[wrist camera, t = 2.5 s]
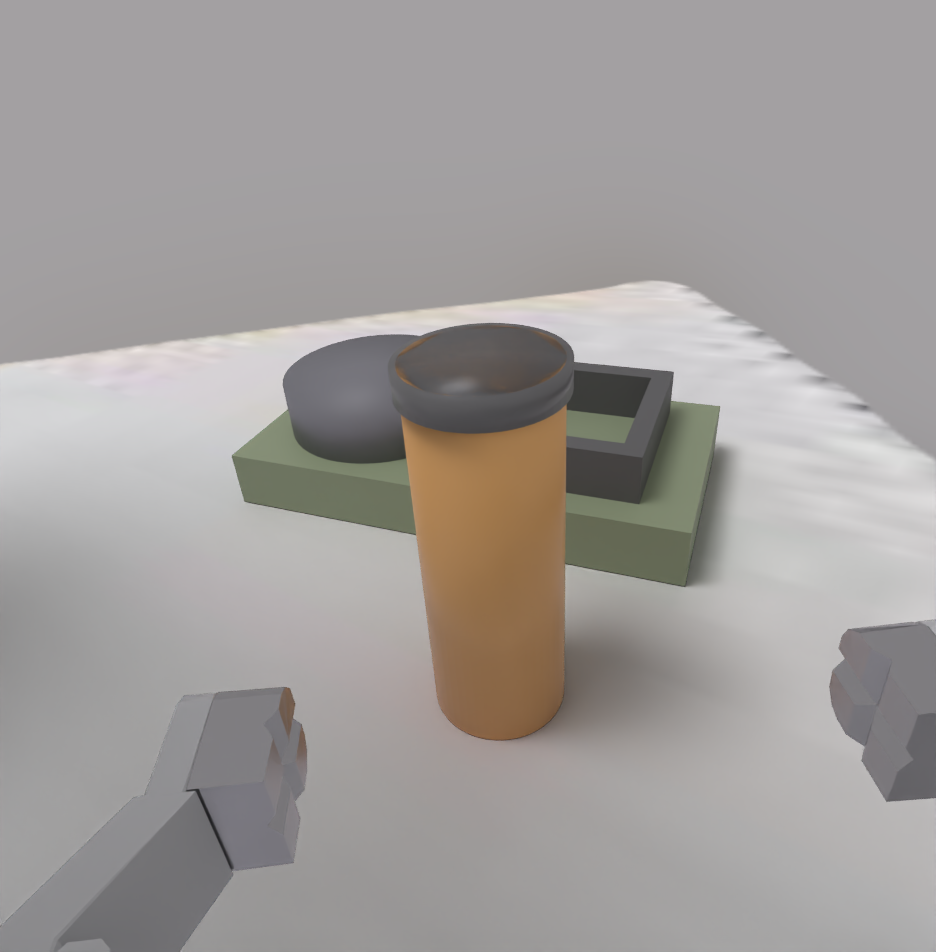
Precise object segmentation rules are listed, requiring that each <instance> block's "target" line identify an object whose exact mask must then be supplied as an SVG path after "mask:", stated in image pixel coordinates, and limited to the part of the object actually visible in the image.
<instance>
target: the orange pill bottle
mask: <svg viewBox="0 0 936 952" xmlns="http://www.w3.org/2000/svg"><path fill="white" fill-rule="evenodd" d="M388 374H389V381H390V388H391V396H392V401H393V405H394V407H395V408H396V410H397V411H398V412H399V413H400V414H401V420H402V428H403V435H404V443H405V451H406V459H407V466H408V474H409V482H410V490H411V497H412V505H413V513H414V521H415V528H416V536H417V544H418V552H419V559H420V567H421V575H422V583H423V590H424V598H425V606H426V614H427V621H428V629H429V637H430V644H431V652H432V660H433V668H434V675H435V683H436V691H437V698H438V702H439V705H440V707H441V710H442V711H443V713H444V715H445V716H446V717H447V718H448V720H449V721H450V722H451V723H452V724H454V725H455V726H456V727H457V728H459V729H460V730H462V731H464V732H466V733H468V734H470V735H473V736H476V737H479V738H484V739H490V740H508V739H515V738H519V737H523V736H526V735H529V734H531V733H533V732H535V731H537V730H539V729H540V728H542V727H543V726H544V725H546V724H547V723H548V722H549V721H550V720H551V719H552V718H553V717H554V716H555V714H556V713H557V711H558V710H559V708H560V705H561V703H562V700H563V696H564V643H565V529H566V415H567V403H568V402H569V400H570V399H571V397H572V394H573V389H574V353H573V350H572V348H571V346H570V345H569V344H568V343H567V342H566V341H565V340H563V339H562V338H560V337H559V336H557V335H555V334H553V333H550V332H548V331H545V330H542V329H538V328H534V327H530V326H524V325H517V324H505V323H481V324H468V325H461V326H454V327H449V328H444V329H440V330H436V331H433V332H430V333H427V334H424V335H422V336H419V337H417V338H415V339H413V340H410V341H409V342H407V343H405V344H404V345H402V346H401V347H400V348H398V349H397V350H396V351H395V352H394V353H393V354H392V356H391V358H390V359H389V362H388Z"/></svg>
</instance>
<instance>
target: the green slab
mask: <svg viewBox="0 0 936 952" xmlns="http://www.w3.org/2000/svg"><path fill="white" fill-rule="evenodd" d="M417 337H419V336H415V335H376V336H367V337H360V338H355V339H350V340H346V341H342V342H338V343H335V344H331V345H328V346H326V347H323V348H320V349H318V350H316V351H314V352H311V353H310V354H308V355H306V356H304V357H303V358H301V359H300V360H298V361H297V362H296V363H294V364H293V365H292V366H291V367H290V368H289V369H288V370H287V372H286V374H285V375H284V379H283V388H284V392H285V397H286V401H287V406H288V410H287V411H285V412H284V413H283V414H282V415H280V416H279V417H278V418H277V419H276V420H274V421H273V422H272V423H271V424H270V425H268V426H267V427H266V428H265V429H263V430H262V431H261V432H260V433H259V434H257V435H256V436H255V437H254V438H253V439H251V440H250V441H249V442H248V443H246V444H245V445H244V446H243V447H242V448H240V449H239V450H238V451H237V452H236V453H234V454H233V455H232V459H233V462H234V466H235V469H236V473H237V476H238V480H239V484H240V487H241V491H242V494H243V498H244V501H246V502H251V503H256V504H261V505H266V506H271V507H277V508H282V509H287V510H292V511H297V512H302V513H308V514H313V515H318V516H323V517H328V518H333V519H339V520H344V521H349V522H354V523H359V524H365V525H370V526H375V527H380V528H385V529H390V530H396V531H401V532H406V533H411V534H416V528H415V521H414V513H413V505H412V497H411V490H410V482H409V474H408V466H407V459H406V451H405V443H404V435H403V428H402V420H401V414H400V413H399V412H398V411H397V410H396V408H395V407H394V405H393V401H392V396H391V388H390V381H389V374H388V362H389V359H390V358H391V356H392V354H393V353H394V352H395V351H396V350H397V349H398V348H400V347H401V346H402V345H404V344H405V343H407V342H409V341H410V340H413V339H415V338H417ZM673 374H674V372H670V371H660V370H650V369H639V368H629V367H619V366H609V365H598V364H588V363H578V362H574V389H573V394H572V397H571V399H570V400H569V402H568V403H567V415H566V529H565V563H566V564H572V565H577V566H582V567H587V568H592V569H597V570H603V571H608V572H613V573H618V574H623V575H628V576H634V577H639V578H644V579H649V580H654V581H659V582H665V583H670V584H675V585H680V586H685V584H686V579H687V575H688V570H689V565H690V561H691V556H692V551H693V547H694V542H695V538H696V533H697V528H698V524H699V519H700V514H701V510H702V505H703V501H704V496H705V491H706V487H707V482H708V477H709V473H710V468H711V464H712V459H713V454H714V448H715V440H716V433H717V426H718V418H719V411H720V406H712V405H703V404H694V403H685V402H676V401H671V395H672V384H673Z"/></svg>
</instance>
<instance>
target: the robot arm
mask: <svg viewBox="0 0 936 952" xmlns="http://www.w3.org/2000/svg"><path fill="white" fill-rule="evenodd" d="M839 650H840V652H841V653H842V655H843V656H844V658H845V659H844V660H843V661H842V662H841V663H840V664H839V665H838V666H837V667H836V668H835V669H833V671H832V676H831V681H830V686H829V688H830V695H831V703H832V707H833V709H834V712H835V715H836V717H837V720H838V722H839V723H840V725H841V727H842V729H843V730H844V732H845V734H846V735H848V736H849V737H851V738H852V739H854V740H855V741H857V742H859V743H860V744H862V745H863V746H864V750H863V756H862V762H863V764H864V766H865V767H866V769H867V770H868V772H869V774H870V775H871V777H872V779H873V780H874V782H875V784H876V785H877V787H878V789H879V790H880V792H881V794H882V795H883V797H884V798H885V800H886V802H890V801H904V800H917V799H930V798H936V620H927V621H918V622H907V623H898V624H889V625H880V626H871V627H862V628H854V629H848V630H847V631H846V632H845V633H844V634H843V635H842V638H841V641H840V645H839ZM294 708H295V702H294V699H293V696H292V693H291V690H290V688H287V687H280V688H267V689H254V690H241V691H228V692H218V693H209V694H196V695H184V696H183V697H182V699H181V700H180V701H179V702H178V704H177V705H176V707H175V710H174V713H173V716H172V719H171V721H170V724H169V727H168V730H167V733H166V736H165V738H164V741H163V744H162V747H161V750H160V753H159V755H158V758H157V761H156V764H155V767H154V770H153V772H152V775H151V778H150V781H149V784H148V787H147V789H146V792H145V795H144V796H139V797H133V798H132V799H131V800H130V801H129V802H128V803H127V804H126V805H125V806H124V807H123V808H122V809H121V810H120V811H119V812H118V813H117V814H116V815H115V816H114V817H113V818H112V819H111V820H110V821H109V822H108V823H107V824H106V825H104V826H103V827H102V828H101V829H100V830H99V831H98V832H97V833H96V834H95V835H94V836H93V837H92V838H91V839H90V840H89V841H88V842H87V843H86V844H85V845H84V846H83V847H82V848H81V849H80V850H79V851H78V852H77V853H76V854H75V855H74V856H73V857H72V858H70V859H69V860H68V861H67V862H66V863H65V864H64V865H63V866H62V867H61V868H60V869H59V870H58V871H57V872H56V873H55V874H54V875H53V876H52V877H51V878H50V879H49V880H48V881H47V882H46V883H45V884H44V885H43V886H42V887H41V888H40V889H39V890H38V891H36V892H35V893H34V894H33V895H32V896H31V897H30V898H29V899H28V900H27V901H26V902H25V903H24V904H23V905H22V906H21V907H20V908H19V909H18V910H17V911H16V912H15V913H14V914H13V915H12V916H11V917H10V918H9V919H8V920H7V921H6V922H5V923H4V924H2V925H1V926H0V952H179V951H180V950H181V949H182V947H183V946H184V944H185V943H186V941H187V940H188V939H189V937H190V936H191V934H192V933H193V932H194V930H195V929H196V927H197V926H198V924H199V923H200V922H201V920H202V919H203V917H204V916H205V914H206V913H207V912H208V910H209V909H210V907H211V906H212V904H213V903H214V902H215V900H216V899H217V897H218V896H219V894H220V893H221V892H222V890H223V889H224V887H225V886H226V885H227V883H228V882H229V880H230V879H231V877H232V876H233V873H232V871H237V870H245V869H252V868H260V867H267V866H275V865H283V864H290V863H294V857H295V850H296V843H297V837H298V830H299V824H300V816H299V813H298V810H297V807H296V804H295V800H296V799H297V798H298V797H299V796H300V794H301V793H302V792H303V791H304V789H305V782H306V774H307V748H306V741H305V735H304V731H303V728H302V724H300V723H299V722H297V721H296V720H294V719H293V714H294Z"/></svg>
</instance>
